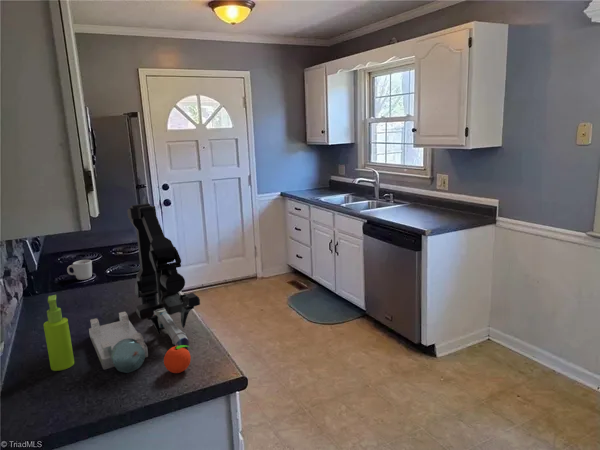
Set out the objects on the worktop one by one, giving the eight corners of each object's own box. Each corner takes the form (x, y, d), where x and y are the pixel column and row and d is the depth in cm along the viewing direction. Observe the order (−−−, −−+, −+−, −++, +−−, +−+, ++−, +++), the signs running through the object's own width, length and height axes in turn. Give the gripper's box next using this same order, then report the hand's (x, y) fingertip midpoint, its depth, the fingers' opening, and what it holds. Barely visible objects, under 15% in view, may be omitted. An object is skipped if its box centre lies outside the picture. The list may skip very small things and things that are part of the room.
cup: (66, 282, 196) (63, 265, 195) (71, 277, 204) (69, 261, 202) (91, 280, 198) (89, 263, 197) (95, 275, 206) (93, 258, 204)
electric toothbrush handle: (174, 340, 125) (150, 304, 145) (175, 360, 127) (151, 322, 147) (191, 335, 128) (165, 300, 148) (192, 354, 130) (167, 318, 150)
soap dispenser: (74, 356, 126) (64, 291, 122) (74, 367, 120) (63, 299, 116) (51, 362, 123) (40, 295, 119) (50, 373, 117) (38, 303, 113)
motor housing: (90, 337, 138) (86, 313, 137) (129, 327, 145) (126, 304, 143) (107, 379, 113) (103, 351, 111) (154, 364, 119) (150, 338, 118)
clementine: (188, 360, 121) (186, 337, 119) (200, 370, 115) (197, 345, 114) (161, 371, 116) (158, 346, 114) (171, 381, 111) (168, 355, 109)
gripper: (142, 298, 123) (148, 348, 126) (204, 284, 133) (208, 331, 136) (133, 288, 132) (139, 335, 135) (191, 275, 142) (196, 319, 145)
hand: (171, 330), depth 138 cm, fingers open, 7 cm apart
